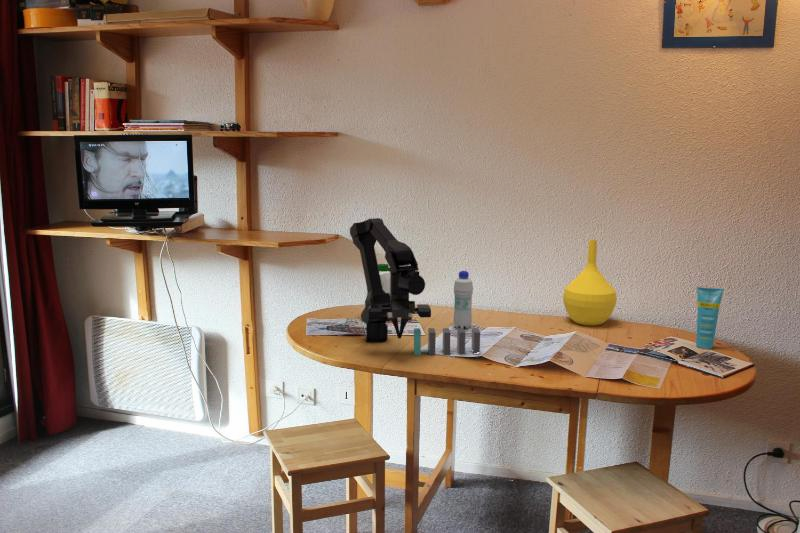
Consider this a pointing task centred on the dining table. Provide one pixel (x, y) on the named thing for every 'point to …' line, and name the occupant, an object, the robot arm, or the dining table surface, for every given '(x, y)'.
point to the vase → (589, 294)
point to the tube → (707, 315)
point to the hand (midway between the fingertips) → (399, 338)
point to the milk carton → (384, 277)
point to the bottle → (463, 300)
